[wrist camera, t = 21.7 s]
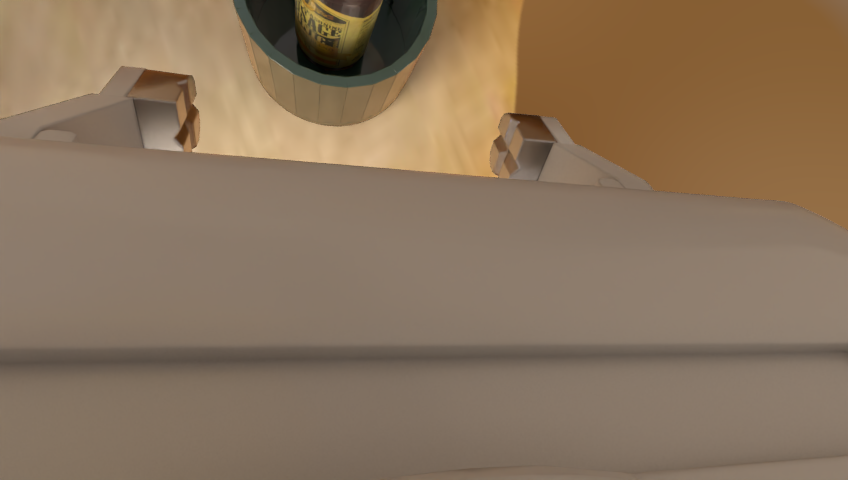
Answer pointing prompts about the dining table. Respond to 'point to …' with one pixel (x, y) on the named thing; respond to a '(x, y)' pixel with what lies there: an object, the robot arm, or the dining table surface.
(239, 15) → the bottle cooler
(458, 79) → the dining table surface
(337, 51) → the sauce bottle
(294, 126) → the dining table surface
